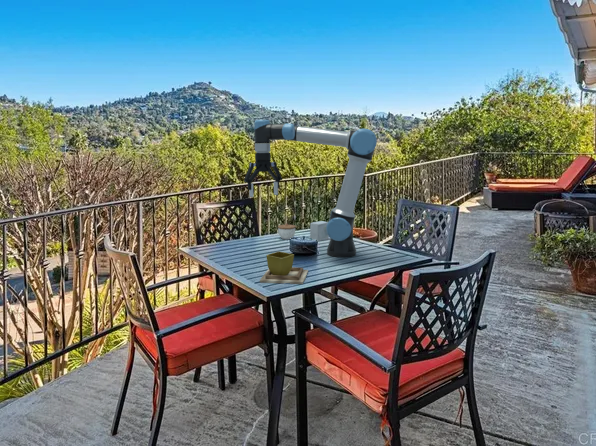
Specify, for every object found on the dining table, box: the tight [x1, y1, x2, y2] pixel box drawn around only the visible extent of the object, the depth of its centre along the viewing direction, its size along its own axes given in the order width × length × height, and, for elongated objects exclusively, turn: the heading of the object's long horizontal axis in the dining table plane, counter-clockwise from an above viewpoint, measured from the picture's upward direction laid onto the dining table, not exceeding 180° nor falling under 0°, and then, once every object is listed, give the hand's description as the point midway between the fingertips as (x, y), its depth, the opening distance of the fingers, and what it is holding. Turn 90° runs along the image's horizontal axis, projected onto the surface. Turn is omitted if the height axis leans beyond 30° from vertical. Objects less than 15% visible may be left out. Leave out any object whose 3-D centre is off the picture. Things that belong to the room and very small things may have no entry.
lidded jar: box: [277, 222, 296, 241], centre depth 272 cm, size 11×11×9 cm
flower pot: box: [266, 251, 295, 276], centre depth 191 cm, size 9×9×9 cm
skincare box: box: [309, 220, 330, 242], centre depth 269 cm, size 10×6×10 cm, turn 137°
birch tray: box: [259, 266, 309, 285], centre depth 192 cm, size 18×18×2 cm
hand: (263, 195), depth 222 cm, fingers open, 13 cm apart
